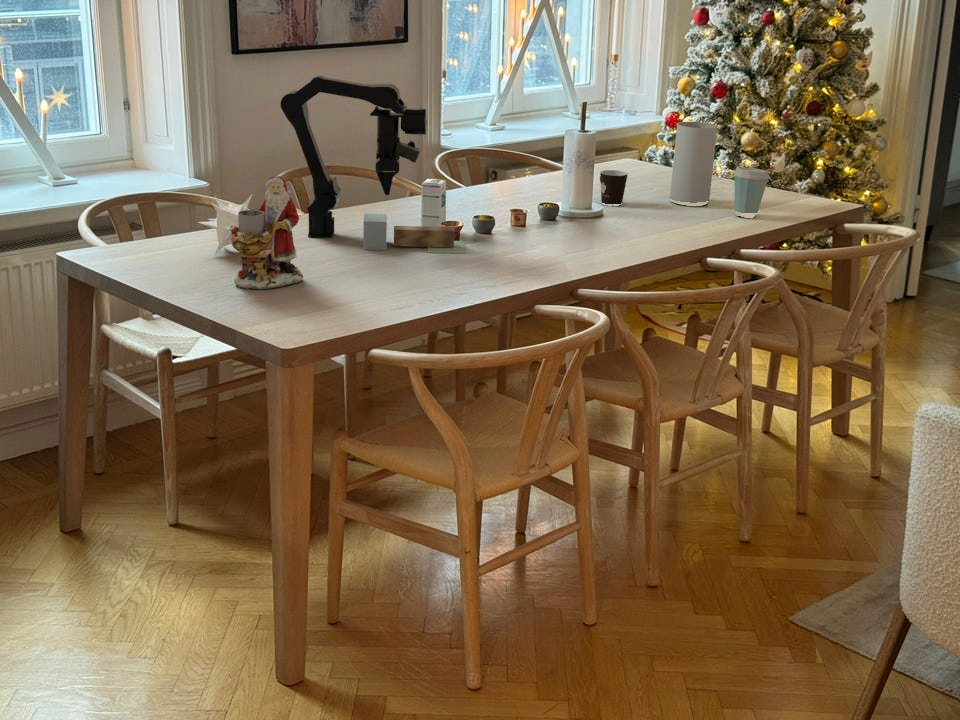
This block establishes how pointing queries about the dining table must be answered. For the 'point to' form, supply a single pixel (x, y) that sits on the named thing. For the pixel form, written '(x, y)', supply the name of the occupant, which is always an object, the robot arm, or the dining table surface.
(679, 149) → the cylinder vase
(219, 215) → the star ornament
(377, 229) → the upright grey block
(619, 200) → the coffee mug
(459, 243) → the green mat
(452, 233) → the walnut block
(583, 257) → the dining table surface
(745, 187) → the disposable coffee cup
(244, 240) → the santa figurine
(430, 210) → the syrup box
